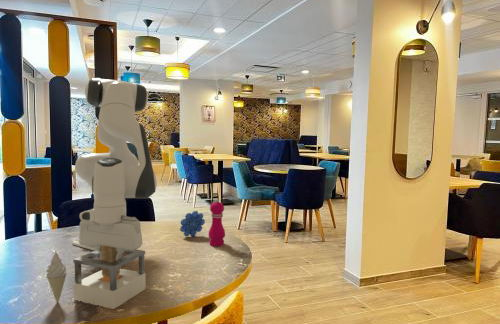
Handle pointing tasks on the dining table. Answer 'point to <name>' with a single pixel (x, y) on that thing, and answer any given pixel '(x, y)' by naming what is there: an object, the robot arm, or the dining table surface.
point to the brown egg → (107, 279)
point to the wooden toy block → (109, 259)
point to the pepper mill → (216, 224)
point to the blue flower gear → (192, 223)
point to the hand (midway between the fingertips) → (110, 260)
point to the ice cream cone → (56, 276)
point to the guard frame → (108, 264)
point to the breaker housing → (101, 294)
